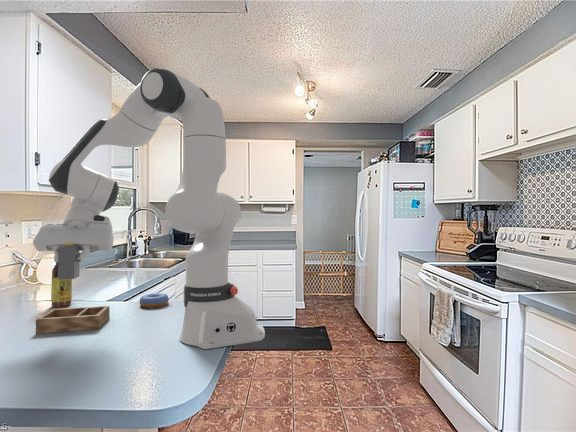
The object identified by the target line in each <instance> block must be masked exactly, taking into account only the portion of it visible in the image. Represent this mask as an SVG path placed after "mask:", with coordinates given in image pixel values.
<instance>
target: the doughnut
mask: <svg viewBox="0 0 576 432" xmlns="http://www.w3.org/2000/svg"><path fill="white" fill-rule="evenodd" d="M169 299H170V298H169V295H168V294H166V293H164V292H153V293H147V294H144V295H142V296H141V297H140V298H139V305H140V307H142V308H144V309H156V308H161V307H164V306H166V305H167V304H168V303H169Z"/></svg>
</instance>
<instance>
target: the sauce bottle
mask: <svg viewBox="0 0 576 432" xmlns="http://www.w3.org/2000/svg"><path fill="white" fill-rule="evenodd" d="M72 285H73V279H58V262H55V265H54V267H53V268H52V271H51V287H50V288H51V289H50V290H51V295H50V297H51V298H50V301H51V307H52V308H61V307H67V306H70V305H71V304H72V298H73V297H72V294H73V293H72V292H73V291H72V289H73V288H72V287H73V286H72Z"/></svg>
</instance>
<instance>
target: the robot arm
mask: <svg viewBox="0 0 576 432" xmlns="http://www.w3.org/2000/svg"><path fill="white" fill-rule="evenodd" d="M167 117H170V118H172V119H175V120H178V121H181V123H182V126H183V128H182V129H183V138H182V139H183V166H182V167H183V168H182V173H181V178H180V180H179V184H178V187H177V189H176V191H175V192H174V193H173V194H172V195H171V196H170V197H169V198H168V200H167V202H166V205H165V211H164V212H165V218H166V221H167V223H168V224H169V226H170V227H171V228H173V229H174V230H175V231H179V232H183V233H186V234H187V233H188V234H195V236H194V237H195V238H194V241H193V244H192V245H191V247H190V249H189V250H188V252H187V253H186V255H185V284H184V286H183V305H184V314H183V316H184V317H183V323H182V328H181V332H180V336H179V340H180V341H181V343H183V344H186V345H190V346H193V347H194V346H195V347H198V348H200V349H202V350H210V349H217V348H222V347H228V346H235V345H236V346H237V345H240V344H242V345H243V344H248V343H253V342H260V341H263V339H264V338H266V337H265V336H266V332H265V328H264V326H263V325H262V324H261V323H259V322H257V317H256V313H255V311H254V310H253V308H252V307H251V306H250V305H248V304H247V303H245V302H244V301H242V300H241V299H240V298H238V297H237V295H238V293H239V290H238V287H237V286H236V285H235V284H233V283H231V282H229V272H228V271H229V268H228V267H229V266H228V265H229V251H230V247H231V246H230V245H231V242H232V237H233V233H234V230H235V227H236V225H237V224H238V222H239V221H240V219H241V215H242V209H241V205H240V203H239V202H238V200H237V199H235V198H234V197H232V196H230V195H228V194H227V193H224V192H218V186H219V182H220V178H221V176H222V175H223V174H224V173H225V172H226V168H227V145H226V144H227V143H226V141H227V140H226V127H225V119H224V115H223V110H222V107H221V104H220V103H219V102H218V101H216V100H215V99H213V98H211V97H210V96H209V94H208V92H206V91H205V90H204V89H203V88H201V87H199V86H197V85H196V84H194V83H193V82H191V80H189V79H187V78H185V77H183V76H181V75H179V74H176V73H174V72H172V71H171V70H168V69H165V68H159V67H156V68H151V69H150V70H148V71H147V72H146V73H145V74H144V76H143V77H142V78H141V81H140V83H139V84H138V85H137V86H136V87H135V88H134V89H133V90H132V92H130V94H128V97H127V98H125V100H124V102H123V104H122V106H121V108H120V109H119V111H118V112H117V113H116V114H115V115H113V116H112V117H110V118H108V119H107V118H105V119H104V118H101V119H99V120H97V121H96V122H95V123H94V124H93V125H92V126H91V127H90V128H89V129H88V130H87V132H86V133H85V134H84V135H83V136H82V137H81V138H80V139H79V141H77V142H76V144H75V145H74V146H73V148H72V149H71V150H70V151H69V152H68V153H67V154H66V155H65V156H64V157H63V158H62V159H61V160H60V161H58V163H57V164H56V165H54V167H53V168H52V169H51V171H50V172H49V173H50V174H49V175H48V177H49V178H48V182H49V184H50V186H51V188H52V189H53V190H54V191H55V192H56V193H60V194H64V195H69V196H71V197H73V198H72V200H71V203H70V208H69V210H68V211H67V213H66V216H65V218H64V221H63V223H47V224H46V225H43V226H41V227H40V228H39V230H38V232H37V234H36V236H35V237H34V239H33V240H32V245H33V246H34V248H35V250H36V251H37V252H53V253H54V257H53V261H54V262H55V263H56V262H58V247H59V246H63V245H65V242H74V245H80V254H77V255H76V260H77V262H79V263H81V262H82V263H83V261H84V259H85V257H87V256H88V255H89V254H90V253H91V252H95V251H96V252H98V251H101V252H103V251H107V252H108V251H110V250H111V249H113V245H114V236H113V235H114V234H113V225H112V223H111V219H110V217H108V216H104V215H101V213H103V212H106V211H107V210H109V209H111V208H112V207H113V206H114V205H115V203H116V200H117V198H118V194H119V190H120V188H119V187H120V186H119V184H118V182H117V180H116V179H114V178H112V177H110V176H107V175H106V174H104V173H101V172H98V171H96V170H94V169H91V168H89V167H86V166H84V165H83V164H82V163H83V162H84V161H85V160H86V159H87V158H88V156H89V155H90V154H91V153H93V150H94V149H95V148H97V147H99V146H104V145H105V146H107V145H108V146H109V145H110V146H118V147H123V148H139V147H140V148H141V147H142V146H145V145H147V144H148V143H149V142H150V141H151V140H152V138H153V137H154V135H155V134H156V132H157V131H158V129H159V127H160V125H161V124H162V122H163V120H164V119H166V118H167Z"/></svg>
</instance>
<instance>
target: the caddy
mask: <svg viewBox="0 0 576 432" xmlns="http://www.w3.org/2000/svg"><path fill="white" fill-rule="evenodd" d="M110 309H111V308H110V305H103V306H102V305H101V306H99V305H98V306H85V307H69V308H68V307H65V308H53V309H51V310H49V311H48V312H46V313H44V314H42V315H40V316H39V317H38V318H36V319H35V335H37V334H39V333H42V334H51V333H50V332H56V333H66V332H68V333H70V332H83V331H95V330H96V331H97V330H100V329H101V328H102V327H103V326H104V325H105V324H106V323H107V321H109V320H110ZM39 335H40V334H39Z"/></svg>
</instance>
